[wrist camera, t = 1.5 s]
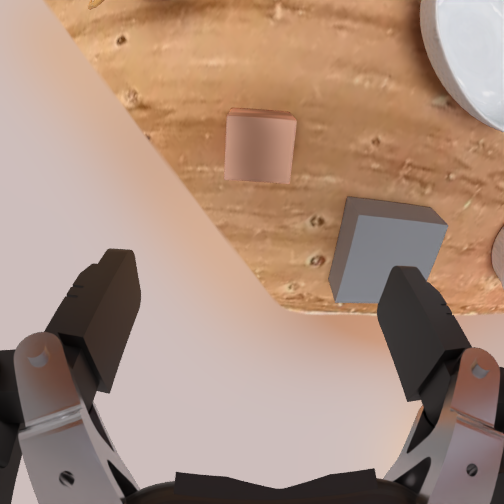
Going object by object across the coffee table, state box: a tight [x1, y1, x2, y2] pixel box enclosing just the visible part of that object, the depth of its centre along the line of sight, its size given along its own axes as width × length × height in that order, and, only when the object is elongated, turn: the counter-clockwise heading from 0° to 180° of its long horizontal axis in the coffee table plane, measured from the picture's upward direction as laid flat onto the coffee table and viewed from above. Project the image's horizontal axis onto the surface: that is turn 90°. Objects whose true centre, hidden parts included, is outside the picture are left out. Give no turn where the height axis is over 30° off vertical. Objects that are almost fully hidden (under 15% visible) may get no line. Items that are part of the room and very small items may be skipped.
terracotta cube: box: [224, 108, 297, 184], centre depth 25 cm, size 5×5×5 cm
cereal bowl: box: [420, 0, 504, 132], centre depth 17 cm, size 17×17×7 cm
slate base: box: [328, 197, 448, 303], centre depth 31 cm, size 10×10×4 cm
